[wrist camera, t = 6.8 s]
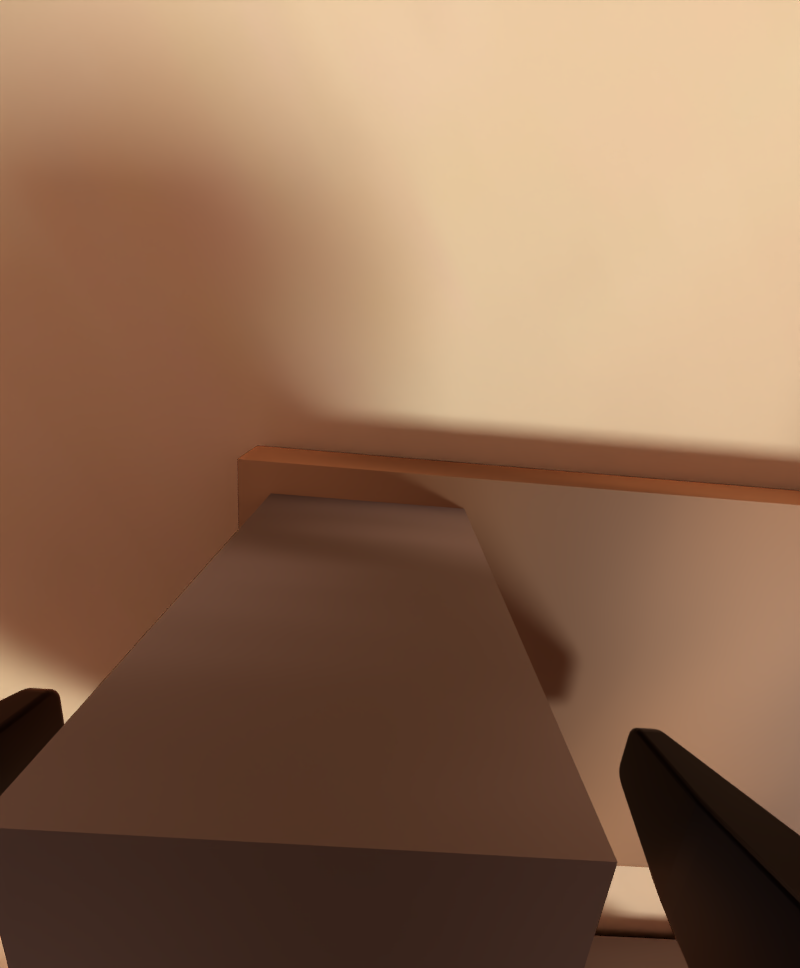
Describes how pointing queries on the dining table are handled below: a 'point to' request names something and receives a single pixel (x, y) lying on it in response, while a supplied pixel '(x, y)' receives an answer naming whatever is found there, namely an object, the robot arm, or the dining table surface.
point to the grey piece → (634, 953)
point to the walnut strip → (626, 608)
